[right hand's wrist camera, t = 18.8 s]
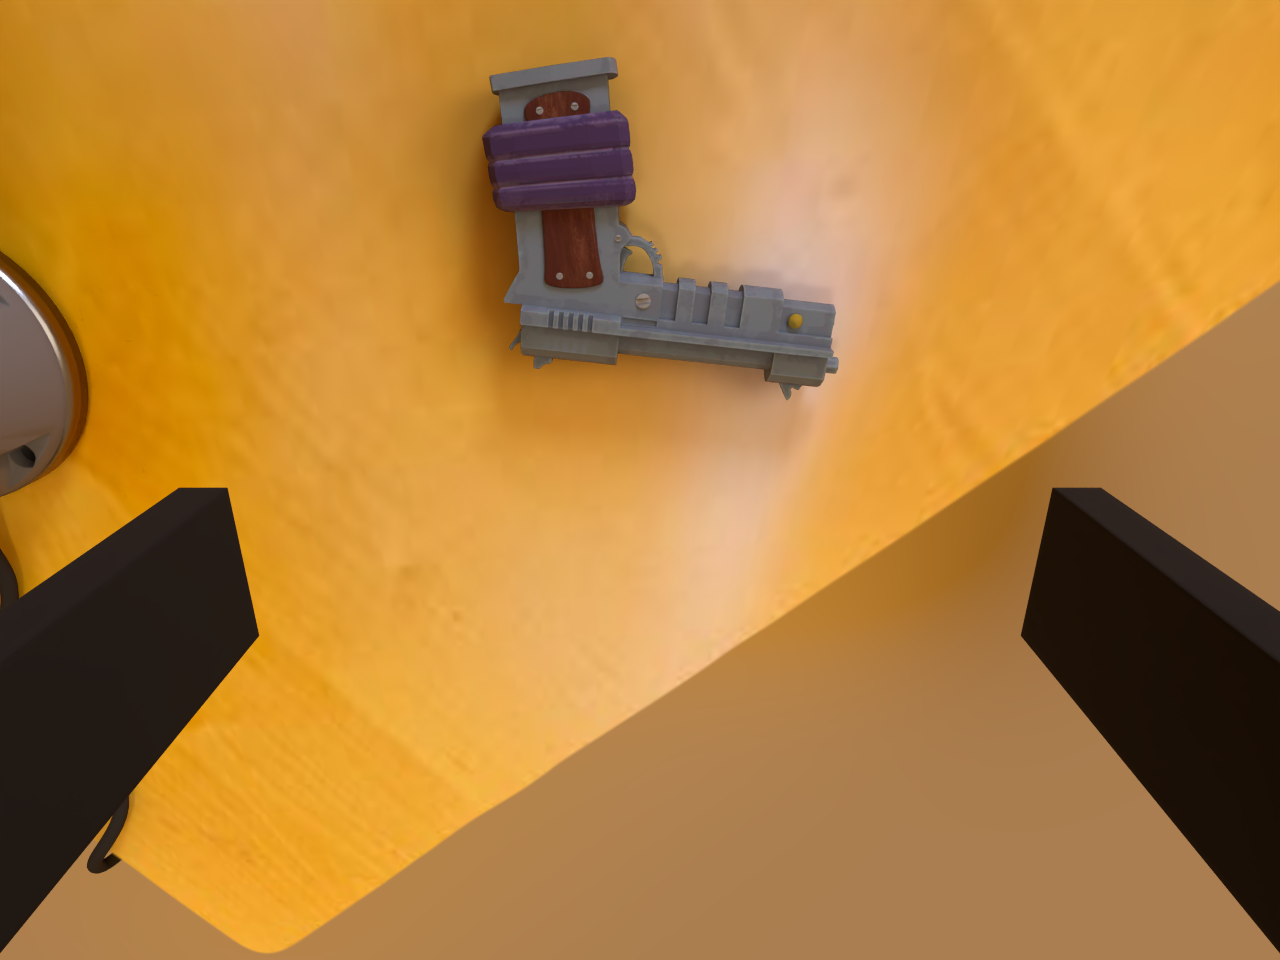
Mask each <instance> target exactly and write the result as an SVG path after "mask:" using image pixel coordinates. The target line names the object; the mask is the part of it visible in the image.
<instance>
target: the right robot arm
mask: <svg viewBox="0 0 1280 960" xmlns="http://www.w3.org/2000/svg"><path fill="white" fill-rule="evenodd" d="M87 408H88V385H87V377H86V371H85V367H84V363H83V359H82V356H81V353H80V350H79V347H78V345H77V343H76V340H75V338H74V336H73V333H72V332H71V330H70V328H69V326H68V324H67V322H66V320H65V319H64V317H63V316H62V314H61V313H60V311H59V310H58V308H57V306H56V305H55V304H54V303H53V301H52V300H51V299H50V297H49V296H48V295H47V293H46V292H45V291H44V290H43V289H42V288H41V287H40V286H39V284H38V283H37V282H36V281H35V280H34V279H33V278H32V277H31V276H30V275H29V274H28V273H27V272H26V271H25V270H23V269H22V268H21V267H20V266H19V265H17V264H16V263H15V262H14V261H13V260H11V259H10V258H9V257H7V256H6V255H5V254H3V253H2V252H0V496H4V495H7V494H9V493H12V492H14V491H17V490H19V489H21V488H22V487H24V486H26V485H28V484H30V483H32V482H34V481H36V480H38V479H40V478H42V477H44V476H45V475H47V474H49V473H50V472H51V471H53V470H54V469H56V468H57V467H58V466H59V465H60V464H61V463H62V462H63V461H64V460H65V459H66V458H67V457H68V456H69V454H70V453H71V452H72V450H73V449H74V447H75V445H76V444H77V442H78V440H79V438H80V436H81V433H82V430H83V427H84V424H85V420H86V415H87ZM0 596H1V604H0V953H1V951H2V950H3V949H4V948H5V947H6V945H7V944H8V943H9V942H10V940H11V939H12V938H13V937H14V935H15V934H16V933H17V932H18V931H19V929H20V928H21V927H22V926H23V924H24V923H25V922H26V921H27V920H28V918H29V917H30V916H31V915H32V913H33V912H34V911H35V910H36V909H37V907H38V906H39V905H40V904H41V902H42V901H43V900H44V899H45V898H46V896H47V895H48V894H49V893H50V891H51V890H52V889H53V888H54V886H55V885H56V884H57V883H58V882H59V880H60V879H61V878H62V877H63V875H64V874H65V873H66V872H67V871H68V869H69V868H70V867H71V866H72V864H73V863H74V862H75V861H76V860H77V858H78V857H79V856H80V855H81V853H82V852H83V851H84V850H85V848H86V847H87V846H88V845H89V844H90V842H91V841H92V840H93V839H94V837H95V836H96V835H97V834H98V833H99V831H100V830H101V829H102V828H103V826H104V825H105V824H106V823H107V822H108V820H109V819H110V818H111V817H112V819H111V821H110V824H109V826H108V828H107V830H106V831H105V833H104V835H103V836H102V838H101V840H100V841H99V843H98V844H97V846H96V847H95V849H94V850H93V852H92V853H91V855H90V857H89V859H88V863H87V868H88V870H89V871H90V872H91V873H102V872H104V871H107V870H108V869H110V868H112V867H113V866H115V865H116V864H117V863H119V862H120V861H121V860H122V859H121V858H119V857H118V856H116V855H115V854H114V853H111V854H110V855H109V856H107V857H106V858H104V857H105V856H106V854H107V853H108V851H109V850H110V848H111V847H112V845H113V844H114V842H115V840H116V839H117V837H118V835H119V834H120V832H121V830H122V828H123V826H124V823H125V820H126V818H127V814H128V808H129V795H130V793H131V792H132V791H133V790H134V788H135V787H136V786H137V785H138V784H139V782H140V781H141V780H142V779H143V777H144V776H145V775H146V774H147V772H148V771H149V770H150V769H151V768H152V766H153V765H154V764H155V763H156V761H157V760H158V759H159V758H160V757H161V755H162V754H163V753H164V752H165V750H166V749H167V748H168V747H169V746H170V744H171V743H172V742H173V741H174V739H175V738H176V737H177V736H178V734H179V733H180V732H181V731H182V730H183V728H184V727H185V726H186V725H187V723H188V722H189V721H190V720H191V719H192V717H193V716H194V715H195V714H196V712H197V711H198V710H199V709H200V708H201V706H202V705H203V704H204V703H205V701H206V700H207V699H208V698H209V696H210V695H211V694H212V693H213V692H214V690H215V689H216V688H217V687H218V685H219V684H220V683H221V682H222V681H223V679H224V678H225V677H226V676H227V674H228V673H229V672H230V671H231V670H232V668H233V667H234V666H235V665H236V663H237V662H238V661H239V660H240V658H241V657H242V656H243V655H244V654H245V652H246V651H247V650H248V649H249V647H250V646H251V645H252V644H253V643H254V641H255V640H256V639H257V638H258V636H259V633H258V628H257V623H256V619H255V614H254V609H253V605H252V600H251V595H250V591H249V586H248V582H247V577H246V572H245V568H244V563H243V558H242V554H241V549H240V544H239V540H238V535H237V530H236V526H235V521H234V516H233V512H232V507H231V502H230V498H229V493H228V488H178V489H177V490H175V491H174V492H172V493H171V494H169V495H168V496H167V497H165V498H164V499H162V500H161V501H159V502H158V503H156V504H155V505H154V506H152V507H151V508H149V509H148V510H146V511H145V512H143V513H142V514H141V515H139V516H138V517H136V518H135V519H133V520H132V521H130V522H129V523H128V524H126V525H125V526H123V527H122V528H120V529H119V530H117V531H116V532H115V533H113V534H112V535H110V536H109V537H107V538H106V539H104V540H103V541H102V542H100V543H99V544H97V545H96V546H94V547H93V548H91V549H90V550H89V551H87V552H86V553H84V554H83V555H81V556H80V557H78V558H77V559H76V560H74V561H73V562H71V563H70V564H68V565H67V566H65V567H64V568H63V569H61V570H60V571H58V572H57V573H55V574H54V575H52V576H51V577H50V578H48V579H47V580H45V581H44V582H42V583H41V584H39V585H38V586H37V587H35V588H34V589H32V590H31V591H29V592H28V593H26V594H25V595H24V596H22V597H21V598H19V592H18V584H17V579H16V576H15V574H14V571H13V569H12V567H11V565H10V563H9V562H8V560H7V558H6V557H5V555H4V554H3V552H2V550H1V549H0ZM1021 636H1022V638H1023V639H1024V640H1025V641H1026V643H1027V644H1028V645H1029V646H1030V647H1031V649H1032V650H1033V651H1034V652H1035V654H1036V655H1037V656H1038V657H1039V658H1040V660H1041V661H1042V662H1043V663H1044V665H1045V666H1046V667H1047V668H1048V670H1049V671H1050V672H1051V673H1052V674H1053V676H1054V677H1055V678H1056V679H1057V681H1058V682H1059V683H1060V684H1061V685H1062V687H1063V688H1064V689H1065V690H1066V692H1067V693H1068V694H1069V695H1070V696H1071V698H1072V699H1073V700H1074V701H1075V703H1076V704H1077V705H1078V706H1079V708H1080V709H1081V710H1082V711H1083V712H1084V714H1085V715H1086V716H1087V717H1088V718H1089V720H1090V721H1091V722H1092V723H1093V725H1094V726H1095V727H1096V728H1097V730H1098V731H1099V732H1100V733H1101V734H1102V736H1103V737H1104V738H1105V739H1106V741H1107V742H1108V743H1109V744H1110V746H1111V747H1112V748H1113V749H1114V750H1115V752H1116V753H1117V754H1118V755H1119V757H1120V758H1121V759H1122V760H1123V761H1124V763H1125V764H1126V765H1127V766H1128V768H1129V769H1130V770H1131V771H1132V772H1133V774H1134V775H1135V776H1136V777H1137V779H1138V780H1139V781H1140V782H1141V784H1142V785H1143V786H1144V787H1145V788H1146V790H1147V791H1148V792H1149V793H1150V794H1151V796H1152V797H1153V798H1154V799H1155V801H1156V802H1157V803H1158V804H1159V806H1160V807H1161V808H1162V809H1163V810H1164V812H1165V813H1166V814H1167V815H1168V817H1169V818H1170V819H1171V820H1172V822H1173V823H1174V824H1175V825H1176V826H1177V828H1178V829H1179V830H1180V831H1181V833H1182V834H1183V835H1184V836H1185V837H1186V839H1187V840H1188V841H1189V842H1190V844H1191V845H1192V846H1193V847H1194V848H1195V850H1196V851H1197V852H1198V853H1199V855H1200V856H1201V857H1202V858H1203V859H1204V861H1205V862H1206V863H1207V864H1208V866H1209V867H1210V868H1211V869H1212V871H1213V872H1214V873H1215V874H1216V875H1217V877H1218V878H1219V879H1220V880H1221V882H1222V883H1223V884H1224V885H1225V886H1226V888H1227V889H1228V890H1229V891H1230V893H1231V894H1232V895H1233V896H1234V897H1235V899H1236V900H1237V901H1238V902H1239V904H1240V905H1241V906H1242V907H1243V909H1244V910H1245V911H1246V912H1247V913H1248V915H1249V916H1250V917H1251V918H1252V920H1253V921H1254V922H1255V923H1256V924H1257V926H1258V927H1259V928H1260V929H1261V931H1262V932H1263V933H1264V934H1265V936H1266V937H1267V938H1268V939H1269V940H1270V942H1271V943H1272V944H1273V945H1274V947H1275V948H1276V949H1277V950H1278V951H1279V953H1280V611H1278V610H1277V609H1275V608H1274V607H1272V606H1271V605H1269V604H1268V603H1267V602H1265V601H1264V600H1262V599H1261V598H1259V597H1258V596H1256V595H1255V594H1254V593H1252V592H1251V591H1249V590H1248V589H1246V588H1245V587H1243V586H1242V585H1241V584H1239V583H1238V582H1236V581H1235V580H1233V579H1232V578H1230V577H1229V576H1228V575H1226V574H1225V573H1223V572H1222V571H1220V570H1219V569H1217V568H1216V567H1215V566H1213V565H1212V564H1210V563H1209V562H1207V561H1206V560H1204V559H1203V558H1202V557H1200V556H1199V555H1197V554H1196V553H1194V552H1193V551H1191V550H1190V549H1189V548H1187V547H1186V546H1184V545H1183V544H1181V543H1180V542H1178V541H1177V540H1176V539H1174V538H1173V537H1171V536H1170V535H1168V534H1167V533H1165V532H1164V531H1163V530H1161V529H1160V528H1158V527H1157V526H1155V525H1154V524H1152V523H1151V522H1150V521H1148V520H1147V519H1145V518H1144V517H1142V516H1141V515H1139V514H1138V513H1137V512H1135V511H1134V510H1132V509H1131V508H1129V507H1128V506H1126V505H1125V504H1124V503H1122V502H1121V501H1119V500H1118V499H1116V498H1115V497H1113V496H1112V495H1110V494H1109V493H1108V492H1106V491H1105V490H1103V489H1102V488H1053V489H1052V493H1051V498H1050V503H1049V507H1048V512H1047V516H1046V521H1045V526H1044V530H1043V535H1042V540H1041V544H1040V549H1039V554H1038V558H1037V563H1036V568H1035V572H1034V577H1033V582H1032V586H1031V591H1030V595H1029V600H1028V605H1027V609H1026V614H1025V619H1024V623H1023V628H1022V633H1021ZM112 815H113V816H112Z"/></svg>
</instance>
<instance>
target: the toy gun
mask: <svg viewBox="0 0 1280 960" xmlns="http://www.w3.org/2000/svg"><path fill="white" fill-rule="evenodd" d="M617 76H618V71H617V64H616V59H615V58H611V57H605V58H598V59H592V60H585V61H578V62H572V63H565V64H558V65H552V66H545V67H539V68H533V69H527V70H521V71H515V72H509V73H503V74H497V75H491V76H490V84H491V89H492V93H493V94H495V95H499V99H500V108H501V117H502V125H496V126H493V127H492V128H491V129H490V130H488V131H487V132H486V133H485V134H484V135H483V138H482V139H483V144H484V150H485V154H486V158H487V160H488V161H489V164H488V171H489V177H490V181H491V184H492V186H493V187H494V189H493V199H494V202H495V205H496V207H497V208H499V209H500V210H502V211H506V212H514V213H515V223H516V233H517V245H518V256H519V268H520V271H519V273H518V274H517V276H516V277H515V279H514V281H513V283H512V285H511V287H510V288H509V290H508V292H507V294H506V296H505V298H504V302H505V303H514V304H523V305H522V308H521V316H520V324H521V325H522V329H520V331H519V333H518V335H517V337H516V338H515V339H514V341H513V342H512V344H511V345H510V349H511V350H512V349H513V347H514V346H515V345H516V344H517V343H519V342H520V341H521V352H522V355H527V356H534V368H536V369H540V368H541V367H542V366H543V365H545V364H549V363H552V359H553V358H555V359H564V360H573V361H583V362H592V363H601V364H610V365H616V362H617V353H619V354H628V355H637V356H646V357H656V358H665V359H674V360H683V361H693V362H702V363H711V364H720V365H729V366H739V367H748V368H757V369H764V378H765V381H767V382H776V383H779V384H780V387H781V389H782V391H783V394H784V396H785V398H786V400H788V399H789V398H790V396H791V391H790V389H791V388H792V387H793V388H795V389H797V390H799V388H800V387H801V386H802V385H804V386H813V387H818V386H820V385H821V383H822V382H823V380H824V377H825V373H833V374H835V373H836V372H837V369H838V362H839V360H838V358H837V357H833V351H832V349H831V343H832V338H831V334H832V329H833V325H834V319H835V314H836V311H835V307H834V305H831V304H822V303H814V302H805V301H796V300H787V299H784V298H783V292H782V290H781V289H774V288H765V287H756V286H747V285H741V286H740V288H739V291H734V290H728V285H727V283H721V282H712V281H710V282H709V285H708V287H699V286H696V282H695V279H686V278H678V281H677V284H673V283H664V282H663V276H662V265H660V264H659V263H658V261H659V259H662V257H661V254H660V255H657V254H656V252H658V250H657V248H654V249H653V248H652V247H651V246H653V243H652V241H651V242H648V241H646V240H645V239H643V238H642V237H639V236H631V233H630V231H629V229H628V228H627V226H626V225H625V224H623V223H622V222H620V221H619V206H626V205H628V204H630V203H632V202H633V201H634V199H635V195H636V187H635V181H634V179H633V178H632V174H633V160H632V154H631V152H630V150H629V146H630V133H629V124H628V120H627V118H626V117H625V116H624V115H622V114H621V113H620V112H619V111H617V110H616V111H610V99H609V84H608V80H610V79H614V78H616V77H617ZM624 246H638V247H641V248H643V249H644V250H645V251H646V252H647V254H648V255H649V257H650V259H651V261H652V264H653V275H651V274H642V273H633V272H624V271H623V266H624V263H625V260H626V259H627V257H628V256H629V255H630V254H632V251H631V250H629V249H627V248H625V247H624Z"/></svg>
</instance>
